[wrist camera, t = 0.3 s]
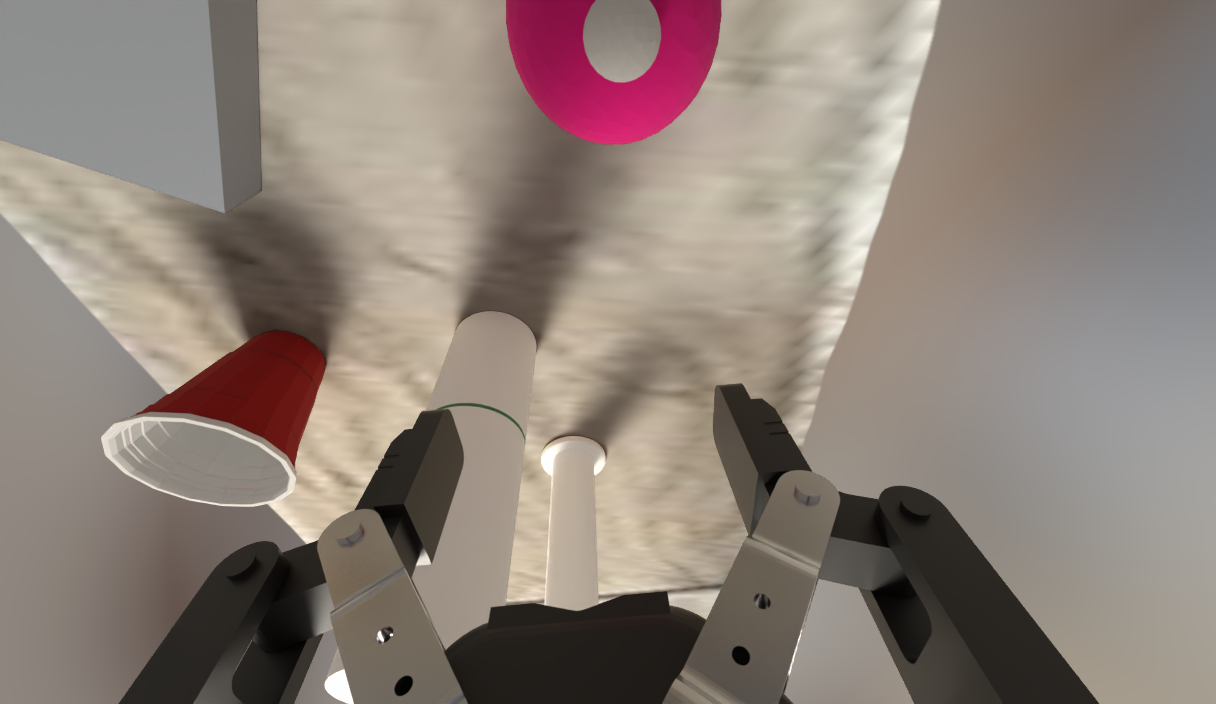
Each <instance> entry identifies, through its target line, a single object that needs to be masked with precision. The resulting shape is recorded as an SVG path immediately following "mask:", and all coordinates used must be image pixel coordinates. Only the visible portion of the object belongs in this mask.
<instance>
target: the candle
mask: <svg viewBox="0 0 1216 704" xmlns="http://www.w3.org/2000/svg"><path fill="white" fill-rule="evenodd" d="M605 461H606V458H605V452H604V450H603V448H602V447H601V446H600V445H599V444H598V443H597V442H595V441H594V440H591V439H589V438H586V437H580V436H567V437H562V438H559V439H556V440H554V441H552V442H551V443H549V444H548V445H547V446H546V447H545V448H544V450H543V452H542V455H541V464H542V467H543V468H544V470H545V471H546V472H547V473H548V474H550V475H551V476H552V484H551V502H550V519H549V537H548V554H547V572H546V589H545V605H547V606H552V607H558V608H563V609H568V610H574V611H580V610H584V609H587V608H590V607H592V606H595V605H598V572H597V541H596V509H595V478H594V476H595V475H596V474H598V473H599V472H600V471H601V470H602V469H603V467H604V465H605Z"/></svg>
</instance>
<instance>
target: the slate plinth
mask: <svg viewBox="0 0 1216 704" xmlns="http://www.w3.org/2000/svg"><path fill="white" fill-rule="evenodd" d="M0 140H2V141H5V142H8V143H11V144H14V145H17V146H20V147H23V148H26V149H29V150H32V151H35V152H38V153H42V154H45V155H48V156H51V157H54V158H57V159H60V160H63V161H66V162H69V163H72V164H75V165H78V166H81V167H84V168H87V169H90V170H94V171H97V172H100V173H103V174H106V175H109V176H112V177H115V178H118V179H121V180H124V181H127V182H130V183H133V184H136V185H139V186H142V187H146V188H149V189H152V190H155V191H158V192H161V193H164V194H167V195H170V196H173V197H176V198H179V199H182V200H185V201H188V202H191V203H194V204H198V205H201V206H204V207H207V208H210V209H213V210H216V211H219V212H222V213H226V212H228V211H230V210H231V209H233V208H234V207H236V206H238V205H239V204H241V203H243V202H244V201H246V200H248V199H249V198H251V197H253V196H254V195H256V194H258V193H259V192H261V191H262V188H261V151H260V114H259V77H258V40H257V3H256V0H0Z"/></svg>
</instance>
